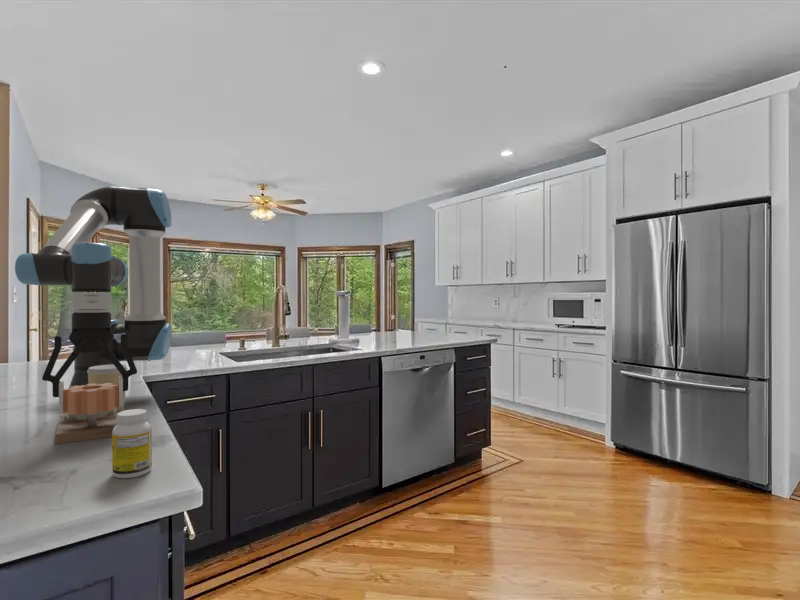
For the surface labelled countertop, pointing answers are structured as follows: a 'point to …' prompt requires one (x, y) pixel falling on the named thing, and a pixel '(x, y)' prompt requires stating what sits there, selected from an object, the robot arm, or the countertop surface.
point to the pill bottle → (131, 444)
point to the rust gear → (90, 398)
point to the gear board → (85, 427)
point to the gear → (84, 416)
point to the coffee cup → (105, 376)
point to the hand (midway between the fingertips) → (91, 408)
